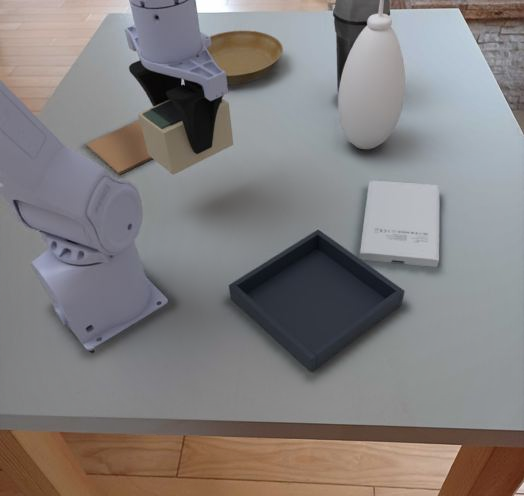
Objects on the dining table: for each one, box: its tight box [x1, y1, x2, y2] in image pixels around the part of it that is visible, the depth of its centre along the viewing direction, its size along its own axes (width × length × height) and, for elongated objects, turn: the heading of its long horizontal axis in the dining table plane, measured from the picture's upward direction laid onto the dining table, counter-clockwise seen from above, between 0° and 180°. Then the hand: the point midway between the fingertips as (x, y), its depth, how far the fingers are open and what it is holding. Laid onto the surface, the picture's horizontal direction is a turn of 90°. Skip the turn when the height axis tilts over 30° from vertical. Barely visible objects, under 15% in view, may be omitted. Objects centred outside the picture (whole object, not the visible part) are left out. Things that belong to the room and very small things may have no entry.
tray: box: [228, 229, 406, 373], centre depth 52 cm, size 12×12×2 cm
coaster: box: [85, 119, 154, 175], centre depth 72 cm, size 9×9×1 cm
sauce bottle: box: [337, 0, 406, 150], centre depth 62 cm, size 8×8×18 cm
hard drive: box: [358, 180, 440, 268], centre depth 58 cm, size 2×8×12 cm
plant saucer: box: [207, 30, 284, 85], centre depth 82 cm, size 15×15×3 cm
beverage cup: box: [332, 0, 391, 94], centre depth 68 cm, size 7×7×20 cm
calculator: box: [137, 98, 234, 176], centre depth 55 cm, size 8×5×5 cm, turn 129°
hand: (188, 138), depth 56 cm, fingers closed on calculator, 5 cm apart
